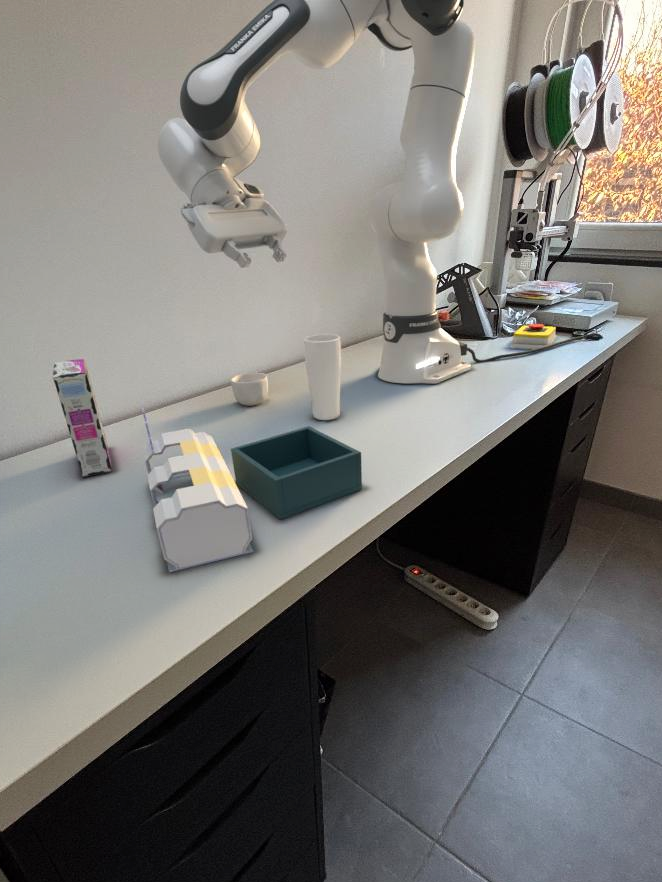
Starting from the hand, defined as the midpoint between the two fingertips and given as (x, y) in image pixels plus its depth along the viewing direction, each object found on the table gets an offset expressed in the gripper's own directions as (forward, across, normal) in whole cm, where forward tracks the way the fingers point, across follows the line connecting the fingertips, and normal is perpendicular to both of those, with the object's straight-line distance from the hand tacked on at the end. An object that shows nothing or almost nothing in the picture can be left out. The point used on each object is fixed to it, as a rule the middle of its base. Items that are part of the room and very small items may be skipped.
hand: (265, 262), depth 97 cm
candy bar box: (+14, -37, +26) cm, 47 cm away
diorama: (+34, -40, +5) cm, 52 cm away
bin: (+38, -26, 0) cm, 46 cm away
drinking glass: (+28, 0, +11) cm, 30 cm away
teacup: (+14, 0, +25) cm, 29 cm away
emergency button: (+38, +74, 0) cm, 84 cm away
